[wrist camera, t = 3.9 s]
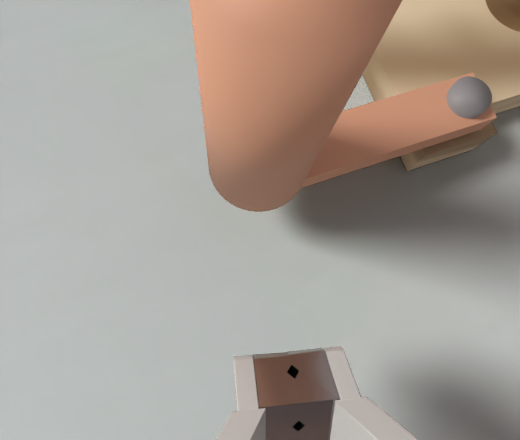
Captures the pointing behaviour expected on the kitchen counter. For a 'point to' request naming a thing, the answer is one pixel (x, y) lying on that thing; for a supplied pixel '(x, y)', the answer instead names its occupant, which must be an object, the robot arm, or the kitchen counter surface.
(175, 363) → the kitchen counter surface
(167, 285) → the kitchen counter surface
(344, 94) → the hinged leg
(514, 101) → the wooden peg stand
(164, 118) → the kitchen counter surface
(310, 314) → the kitchen counter surface
